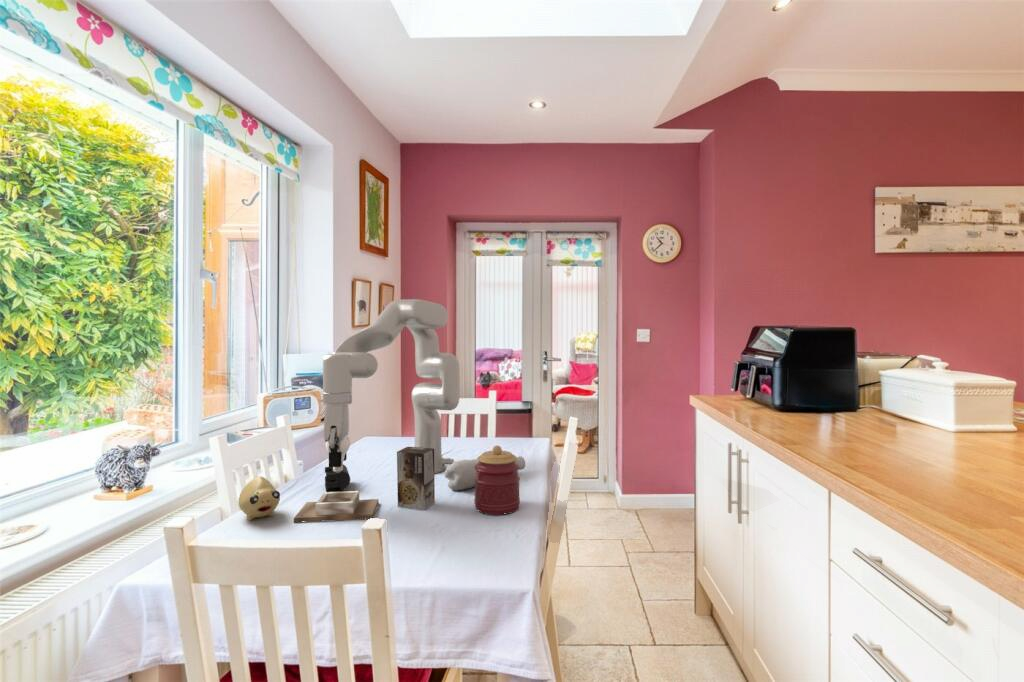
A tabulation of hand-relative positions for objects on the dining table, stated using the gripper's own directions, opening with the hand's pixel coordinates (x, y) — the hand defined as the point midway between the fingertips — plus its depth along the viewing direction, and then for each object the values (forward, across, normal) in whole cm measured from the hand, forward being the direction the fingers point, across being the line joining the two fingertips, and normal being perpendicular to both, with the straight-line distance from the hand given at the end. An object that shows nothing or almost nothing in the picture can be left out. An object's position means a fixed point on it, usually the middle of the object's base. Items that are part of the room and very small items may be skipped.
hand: (337, 463), depth 134 cm
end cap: (+14, -22, -5) cm, 27 cm away
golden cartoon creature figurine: (+14, +1, -20) cm, 24 cm away
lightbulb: (+3, 0, 0) cm, 3 cm away
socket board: (+14, 0, 0) cm, 14 cm away
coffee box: (+14, -3, +21) cm, 25 cm away
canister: (+14, +2, +44) cm, 46 cm away
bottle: (+14, -22, +44) cm, 51 cm away
